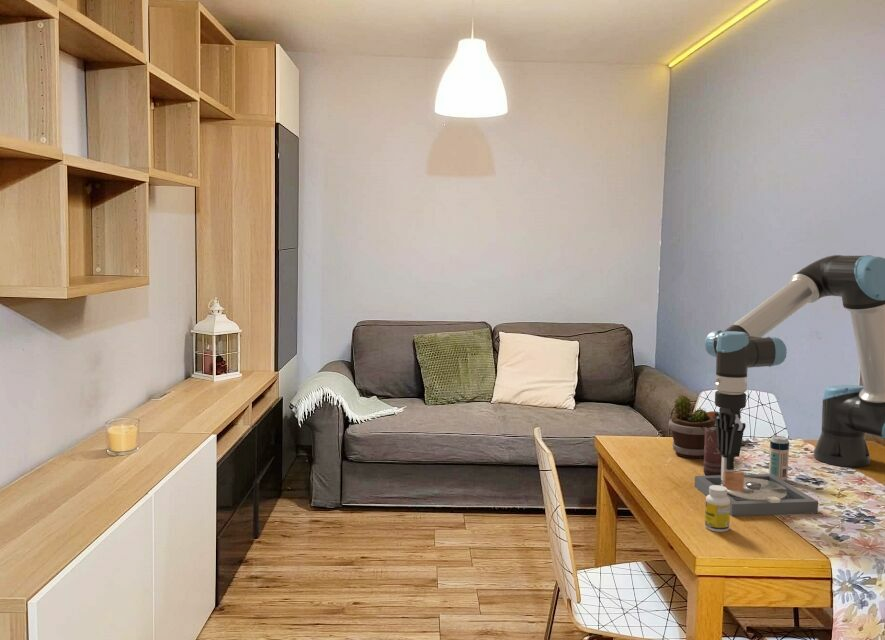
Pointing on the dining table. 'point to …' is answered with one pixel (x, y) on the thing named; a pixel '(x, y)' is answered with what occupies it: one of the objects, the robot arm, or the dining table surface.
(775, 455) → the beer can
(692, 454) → the flowerpot
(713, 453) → the can
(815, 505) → the dial plate
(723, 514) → the supplement bottle
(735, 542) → the dining table surface
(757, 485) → the dial
